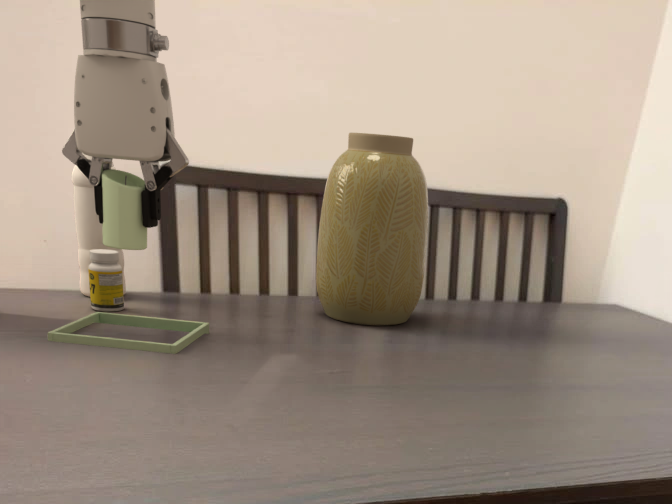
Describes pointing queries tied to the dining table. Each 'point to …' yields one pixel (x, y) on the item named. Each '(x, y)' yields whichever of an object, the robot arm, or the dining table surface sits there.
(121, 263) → the water bottle
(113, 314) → the tray
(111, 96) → the robot arm
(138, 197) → the candle
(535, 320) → the dining table surface
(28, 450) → the dining table surface
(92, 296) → the supplement bottle
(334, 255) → the vase
